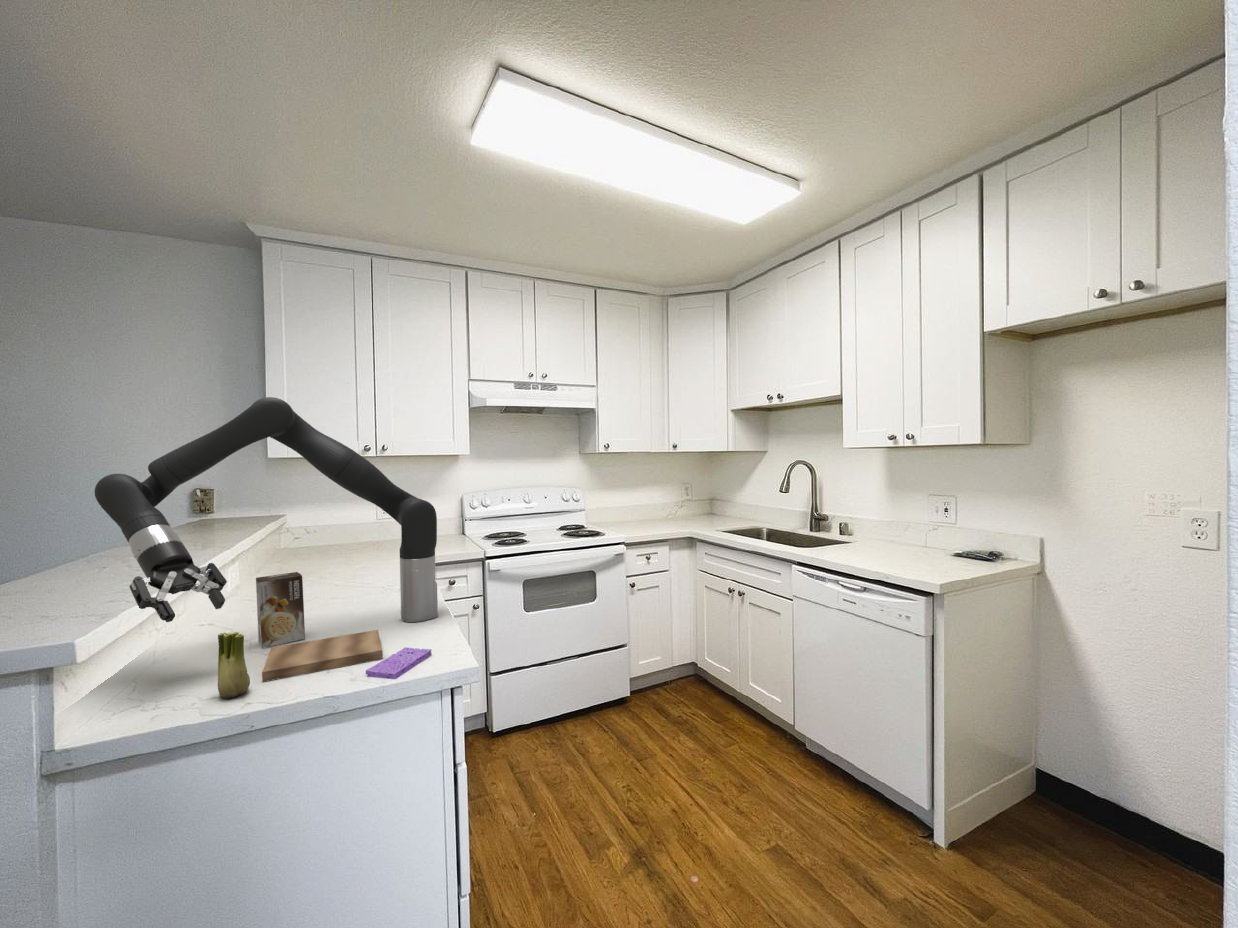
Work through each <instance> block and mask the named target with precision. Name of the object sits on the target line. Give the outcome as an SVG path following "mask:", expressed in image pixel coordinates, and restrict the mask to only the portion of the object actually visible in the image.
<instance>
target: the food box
mask: <svg viewBox="0 0 1238 928" xmlns="http://www.w3.org/2000/svg"><path fill="white" fill-rule="evenodd" d="M303 582H304V581H303V575H302V574H301V573H300V572H298V571H294V572H293V571H292V572H287V573H281V574H273V575H266V576H258V577H256V578H255V585H256V586H255V587H256V588H255V590H256V591H255V592H256V610H257V611H256V612H257V613H256V616H257V635H258V638H257V639H258V643H259V645H260V648H261V649H266V648H271V647H276V646H280V645H285V644H288V643H291V642H297V641H301V640H304V639H306V625H305V608H304V607H305V606H304V604H305V603H304V585H303Z"/></svg>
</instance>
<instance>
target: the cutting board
mask: <svg viewBox="0 0 1238 928" xmlns="http://www.w3.org/2000/svg"><path fill="white" fill-rule="evenodd" d="M379 632H380V631H379V629H374V630H368V631H362V632H357V633H349V634H344V635H339V636H332V637H326V638H320V639H313V640H307V641H303V642H296V643H295V642H294V643H289V644H282V645H276V646H270V650H269V652H268V656H267V658H266V660H265V663H264V666H263V669H262V671H261V679H262V680H261V681H262V683H264V682H263V681H265V682H268V681H267V680H270V681H273V680H272V679H275V680H278V679H277V678H280V679H284V678H290V677H295V676H300V675H305V674H311V673H315V672H321V671H327V670H332V669H336V668H337V669H338V668H342V667H346V666H352V665H358V664H362V663H363V664H364V663H367V662H368V663H369V662H374V661H379V660H383V647H382V642H381V638H380V633H379Z"/></svg>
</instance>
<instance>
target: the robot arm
mask: <svg viewBox="0 0 1238 928" xmlns="http://www.w3.org/2000/svg"><path fill="white" fill-rule="evenodd" d="M267 438H271V439H273V440H275V441H277V442H279V443H280V444H281V445H284V446H286V447H288V448H290V449H291V450H293V451H295V453H297V454H299V455H300V457H303V459H305V460H306V461H307V462H308V463H309V464H310V465H311V466H313V467H314V468H315V469H317V471H318V472H320V473H321V474H322V475H324V476H325V477H327V478H328V479H329V480H331V481H333V482H334V484H335V483H336V485H338V486H339V487H342V488H343V489H345V490H346V491H347V492H350V493H351V494H353V495H355V496H357V497H359V498H361V499H363V500H364V501H367V502H370V503H371V504H373V505H375V506H377V507H379V508H380V509H381V510H382V511H383V512H385V513H386V514H387V515H389V516H390V517H391V518H393V520H395V521H396V522H397V523H398V524H399V525H400V527H401V529H400V531H401V532H400V533H401V534H400V535H401V543H400V547H399V580H400V581H399V583H400V584H399V586H400V587H399V588H400V589H399V590H400V593H399V594H400V620H401V621H402V620H403V622H406V623H407V622H408V623H417V622H424V621H428V620H431V619H433V618H438V617H439V612H438V611H439V608H438V603H439V601H438V599H439V598H438V583H437V578H436V574H437V573H436V547H437V543H438V542H437V540H438V535H437V534H438V533H437V532H438V516H437V511H436V508H435V507H434V506H433V504H432V503H430V502H429V501H428V500H425V499H422V498H419V497H417V496H415V495H412V494H411V493H409V492H407V491H405V490H404V489H403V488H400V487H399V486H398V485H395V484H394V482H393V481H391V480H390V479H389V478H388V477H387V476H386V475H385V474H384V473H383V472H382V471H381V470H380V469H379V468H378V467H376V465H374V464H373V463H372V462H370V461H369V460H367V459H366V458H365V457H364V456H362V455H361V454H359V453H358V452H356V451H355V450H354V449H352V448H350V447H349V446H347V445H345V444H344V443H341V442H340V441H339V440H336V439H335V438H332V437H331V436H328V435H326V434H324V433H322V432H321V431H319V430H318V429H316V428H314V427H313V426H312V425H311V424H309V422H307V421H306V420H305V419H303V418H302V417H301V416H300V415H299V414H298V413H296V411H294V409H293V408H292V406H291V405H290V404H289V403H288V402H287V401H285V400H283V399H281V398H278V397H271V396H269V397H267V396H266V397H262V398H259V399H257V400H256V401H254V402H253V403H252V404H251V405H250V406H248V408H246V409H244V410H243V411H242V412H241V413H240V414H238V415H237V416H235V417H234V418H233V419H231V420H230V421H228V422H227V423H225V424H223V425H221V426H220V427H217V428H215V429H214V430H212V431H210V432H208V433H206V434H205V435H202V436H200V437H198V438H196V439H193V440H191V441H190V442H188V443H185V444H183V445H181V446H178V447H177V448H175V449H174V450H171V451H170V452H167V453H166V454H164V455H161V456H160V457H158V458H156V459H154V460H153V461H151V462H150V463H149V464H148V466H147V470H148V472H149V474H150V475H149V476H148V477H147V478H146V479H145V480H143V481H139V480H138V479H136V478H134V477H133V476H131V475H129V474H125V473H111V474H107V475H106V476H104V477H102V478H100V479H99V480H98V481H97V483H96V484H95V487H94V496H95V499H96V502H97V503H98V505H99V506H100V507H101V508H102V510H103V511H105V513H106V514H107V515H108V516H109V518H110V519H111V520H113V521H114V522H115V524H116V525H118V527H119V528H120V530H121V532H122V534H123V536H124V538H125V539H126V541H127V543H128V544H129V547H130V550H131V552H132V555H133V558H134V559H135V560H136V561H137V563H138V565H139V567H140V568H141V570H142V572H143V573H144V576H145V578H143V577H142V576H140V575H139V576H138V575H137V576H135V577H134V578H133V580H132V582H131V583H130V585H129V589H130V592H131V594H132V596H133V598H134V600H135V602H136V604H137V606H139V607H138V608H139V609H141V610H144V609H146V608H152V609H154V610H155V612H156V613H157V615H158V617H159V619H160V620H162V621H164V622H166V623H170V622H173V620H174V619H175V617H176V614H175V611H174V609H173V608H172V606H171V604H170V603H169V601H168V600H167V599H166V597H167V596H168V594H171V595H176V594H179V593H180V592H188V591H194V592H196V593H203V594H206V595H208V599H209V600H210V602H211V604H212V606H213V607H214V609H215V610H221V609H222V607H223V606H224V604H225V602H226V598H225V596H224V595H223V593H222V592H221V591H222V590H223V589H224V587H225V586H226V584H227V582H228V581H227V579H226V578H225V576H224V575H223V574H222V573H221V571H220V570H219V568H218V567H217V566H216V565H215V563H213V562H209V563H208V564H207V565H206V566H202V567H199V566H197V565H195V563H194V560H193V557H192V556H191V554H190V552H189V551H188V549H187V548H186V546H185V545H184V543H183V541H182V539H181V538H180V537H179V535H178V533H177V532H176V531H175V530H174V529H173V528H172V527H171V525H170V523H169V522H168V520H167V518H166V516H165V515H164V514H163V513H162V512H161V510H159V509H158V508H156V507H157V506H158V505H159V504H160V503H162V502H163V500H164V499H166V498H167V497H168V496H169V495H171V493H172V492H174V490H175V489H177V488H178V487H179V486H181V485H183V484H185V483H186V482H188V481H191V480H192V479H194V478H196V477H198V476H199V475H201V474H203V473H205V472H206V471H208V470H210V469H211V468H213V467H215V466H216V465H217V464H220V462H222V461H224V460H225V459H226V458H228V457H230V456H231V455H233V454H235V453H236V452H238V451H239V450H241V449H243V448H246V447H248V446H249V445H251V444H254V443H257V442H260V441H261V440H264V439H267ZM197 582H199V584H197ZM148 586H151V587H152V588H155V589H156V590H157V589H158V592H157V593H156V595H155V596H154V597H153V596H152V595H151V593H150V592H149V589H148ZM165 599H166V600H165Z"/></svg>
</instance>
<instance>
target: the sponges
mask: <svg viewBox="0 0 1238 928" xmlns="http://www.w3.org/2000/svg"><path fill="white" fill-rule="evenodd" d="M430 657H432V649H430V648H414V647H406V646H405V647H403V648H402V649H400V650H398V651H397V652H396V653H394V654H391V655H389V657H387V658H384V659H382V660H381V661H379V662H378V663H376V664H374V665H373V666H371V667H368V668H367V669H365V675H367V677H368V678H378V679H379V678H381V679H383V678H384V679H389V680H396V679H397V678H399V677H400V676H402V675H403V674H405V673H406V672H408V671H409V670H411V669H413V668H414V667H415V666H417V665H419V664H420V663H421V662H424V661H425V660H427V659H428V658H430Z"/></svg>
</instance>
